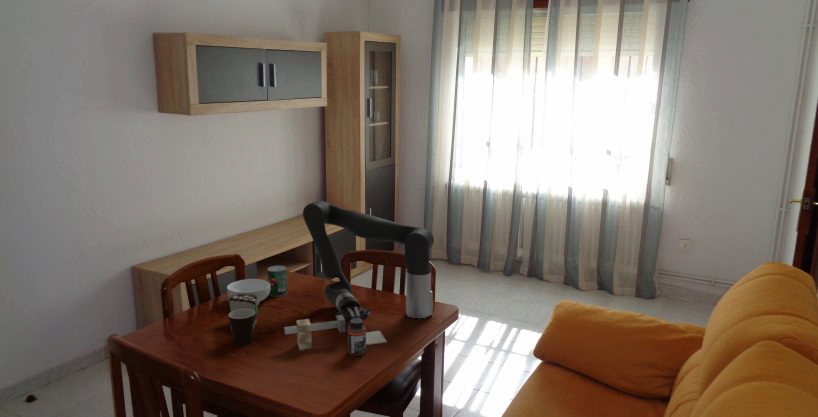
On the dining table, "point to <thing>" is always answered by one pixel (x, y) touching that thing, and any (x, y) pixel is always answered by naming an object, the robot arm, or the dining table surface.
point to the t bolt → (321, 326)
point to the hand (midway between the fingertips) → (359, 323)
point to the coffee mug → (242, 326)
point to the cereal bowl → (250, 287)
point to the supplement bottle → (356, 337)
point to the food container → (244, 302)
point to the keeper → (304, 334)
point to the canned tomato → (277, 280)
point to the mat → (374, 338)
